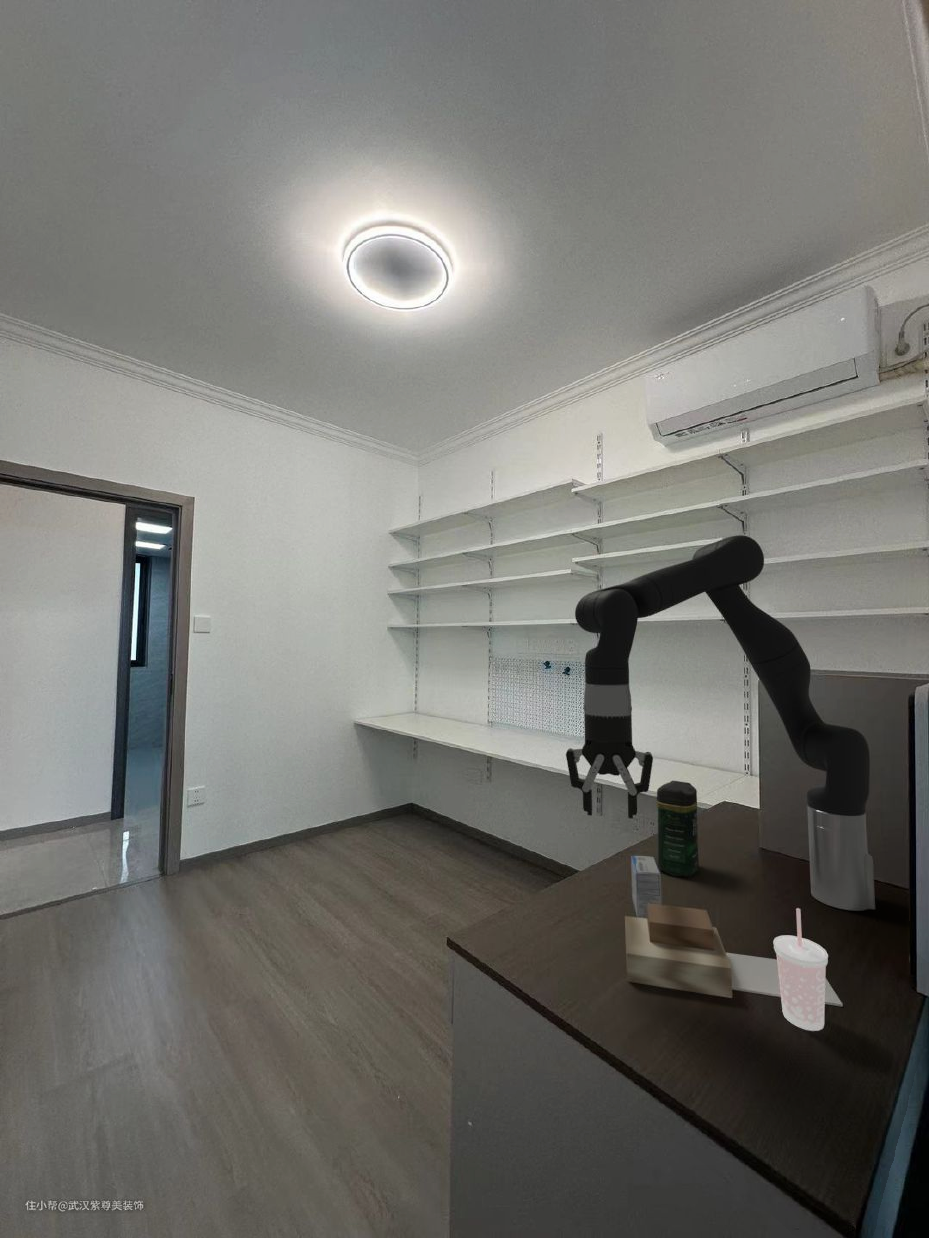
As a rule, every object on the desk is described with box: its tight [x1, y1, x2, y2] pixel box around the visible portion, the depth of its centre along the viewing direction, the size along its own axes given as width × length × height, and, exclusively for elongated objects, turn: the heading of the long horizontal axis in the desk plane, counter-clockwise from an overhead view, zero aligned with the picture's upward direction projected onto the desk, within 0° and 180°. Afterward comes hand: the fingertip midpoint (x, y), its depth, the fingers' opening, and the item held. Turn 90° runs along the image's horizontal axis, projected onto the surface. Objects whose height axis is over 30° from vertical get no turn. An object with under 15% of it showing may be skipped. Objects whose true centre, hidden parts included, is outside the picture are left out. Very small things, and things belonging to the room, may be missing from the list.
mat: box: [725, 951, 844, 1007], centre depth 77 cm, size 14×9×1 cm, turn 74°
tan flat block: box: [624, 915, 733, 999], centre depth 80 cm, size 14×11×4 cm
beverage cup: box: [772, 907, 829, 1032], centre depth 69 cm, size 6×6×14 cm
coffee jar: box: [656, 780, 700, 877], centre depth 115 cm, size 10×8×19 cm
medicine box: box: [630, 855, 663, 919], centre depth 97 cm, size 8×4×9 cm, turn 168°
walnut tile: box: [647, 903, 714, 951], centre depth 81 cm, size 9×6×3 cm, turn 74°
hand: (609, 815), depth 85 cm, fingers open, 5 cm apart
